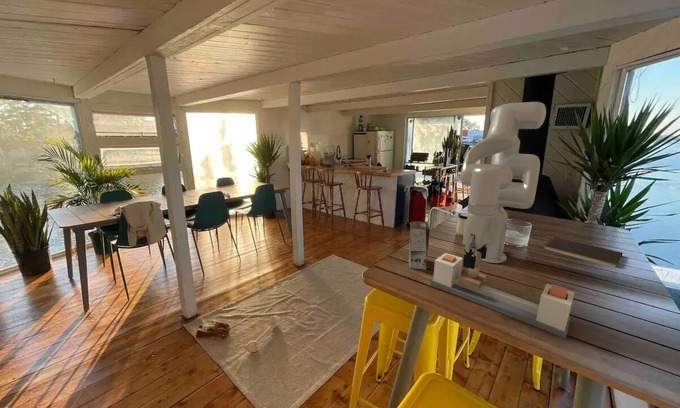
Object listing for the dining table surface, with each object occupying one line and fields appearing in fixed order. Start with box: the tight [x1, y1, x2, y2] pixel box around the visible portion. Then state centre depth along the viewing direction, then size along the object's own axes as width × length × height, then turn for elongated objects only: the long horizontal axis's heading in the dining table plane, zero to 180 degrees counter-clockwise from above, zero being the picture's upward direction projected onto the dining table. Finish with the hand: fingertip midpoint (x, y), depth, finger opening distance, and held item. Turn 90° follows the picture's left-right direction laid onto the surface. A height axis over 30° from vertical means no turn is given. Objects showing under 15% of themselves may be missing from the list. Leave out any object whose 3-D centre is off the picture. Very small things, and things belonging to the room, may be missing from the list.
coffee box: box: [408, 221, 431, 270], centre depth 106 cm, size 9×6×16 cm
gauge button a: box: [442, 254, 456, 263], centre depth 92 cm, size 3×3×4 cm
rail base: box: [430, 252, 575, 339], centre depth 83 cm, size 9×36×9 cm, turn 45°
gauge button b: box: [549, 283, 569, 300], centre depth 72 cm, size 3×3×4 cm
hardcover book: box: [543, 236, 623, 268], centre depth 117 cm, size 16×23×2 cm
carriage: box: [458, 251, 487, 290], centre depth 86 cm, size 7×6×10 cm
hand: (474, 262), depth 85 cm, fingers open, 9 cm apart
